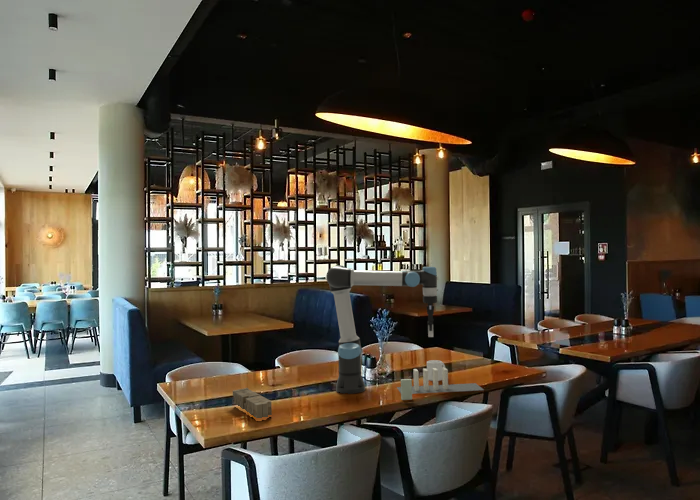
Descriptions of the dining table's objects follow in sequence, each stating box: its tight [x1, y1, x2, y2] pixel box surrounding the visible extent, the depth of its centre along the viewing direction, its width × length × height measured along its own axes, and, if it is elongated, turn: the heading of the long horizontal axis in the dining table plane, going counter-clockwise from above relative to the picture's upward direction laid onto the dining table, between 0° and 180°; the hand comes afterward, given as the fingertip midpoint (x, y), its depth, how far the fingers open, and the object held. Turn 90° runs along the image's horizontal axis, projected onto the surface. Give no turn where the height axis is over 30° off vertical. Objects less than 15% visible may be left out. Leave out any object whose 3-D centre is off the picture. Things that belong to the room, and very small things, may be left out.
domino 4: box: [432, 368, 439, 390], centre depth 273 cm, size 2×5×10 cm, turn 5°
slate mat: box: [396, 382, 485, 395], centre depth 273 cm, size 42×14×1 cm, turn 95°
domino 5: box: [441, 367, 449, 390], centre depth 273 cm, size 2×5×10 cm, turn 4°
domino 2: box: [413, 368, 420, 391], centre depth 272 cm, size 2×5×10 cm, turn 5°
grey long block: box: [232, 387, 273, 418], centre depth 244 cm, size 8×8×29 cm
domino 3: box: [422, 368, 430, 391], centre depth 272 cm, size 2×5×10 cm, turn 5°
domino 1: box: [400, 378, 413, 401], centre depth 255 cm, size 2×5×10 cm, turn 95°
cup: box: [426, 359, 446, 382], centre depth 294 cm, size 8×12×10 cm
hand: (430, 334), depth 288 cm, fingers open, 13 cm apart
